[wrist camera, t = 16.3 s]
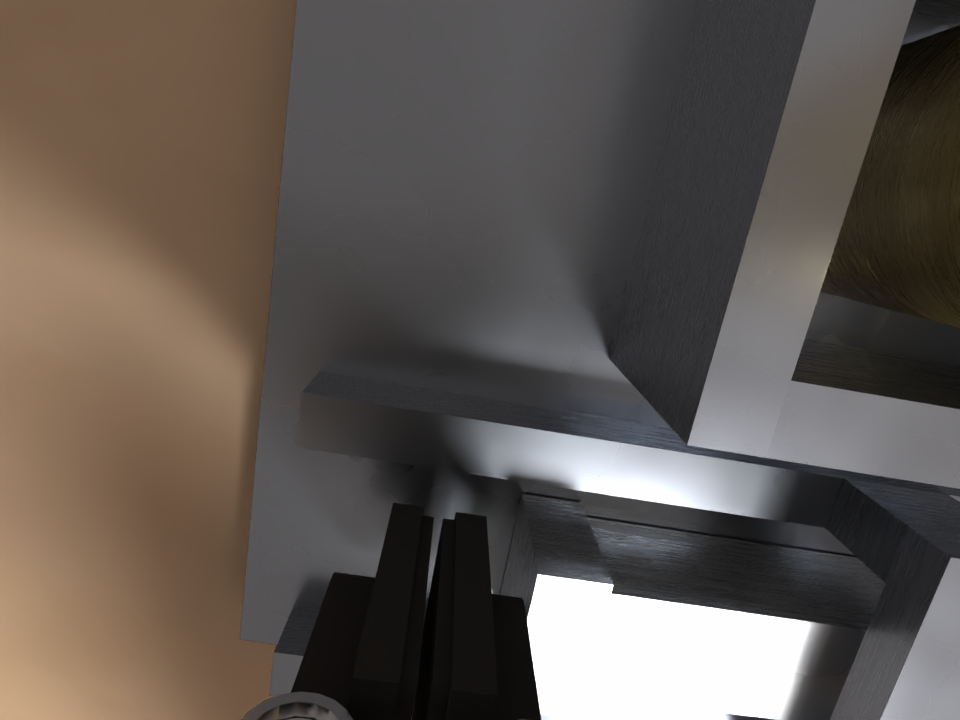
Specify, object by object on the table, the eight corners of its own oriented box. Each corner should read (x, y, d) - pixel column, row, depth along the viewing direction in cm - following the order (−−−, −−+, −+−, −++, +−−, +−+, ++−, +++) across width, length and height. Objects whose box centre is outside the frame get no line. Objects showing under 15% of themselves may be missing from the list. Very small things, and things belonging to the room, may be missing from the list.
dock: (255, 611, 13) (138, 843, 9) (338, -253, 9) (203, -733, 5) (915, 698, 15) (1138, 945, 10) (1246, -38, 10) (1910, -237, 6)
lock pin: (497, 605, 12) (506, 709, 10) (521, 493, 12) (538, 573, 9) (902, 661, 13) (1007, 772, 10) (947, 557, 12) (1070, 649, 10)
